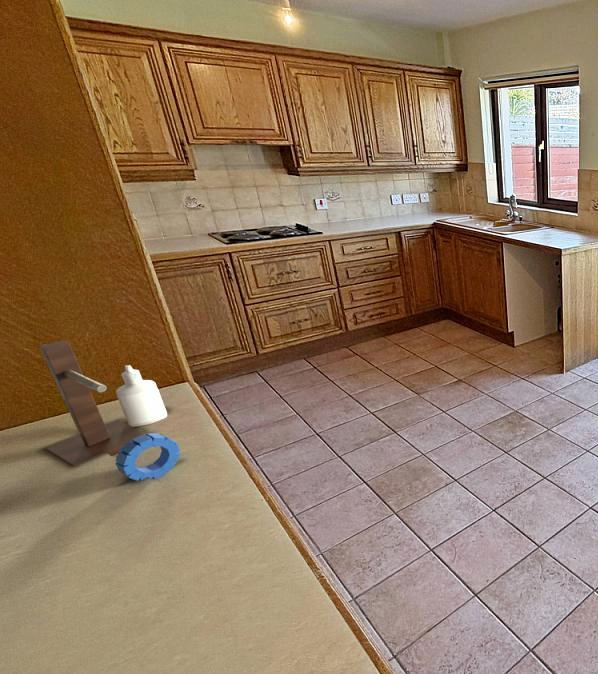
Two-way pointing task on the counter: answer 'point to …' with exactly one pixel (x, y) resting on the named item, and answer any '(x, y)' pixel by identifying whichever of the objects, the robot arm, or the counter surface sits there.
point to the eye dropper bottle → (140, 399)
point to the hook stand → (83, 410)
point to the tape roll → (139, 444)
